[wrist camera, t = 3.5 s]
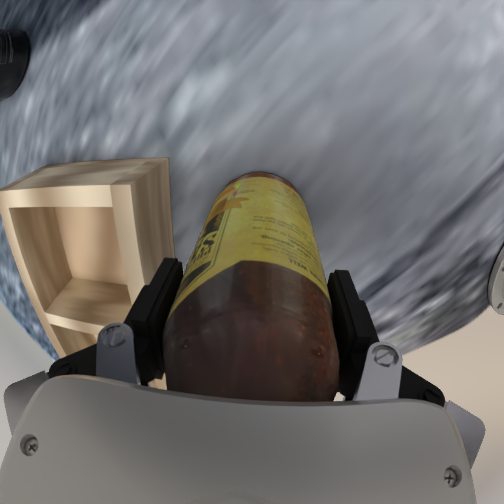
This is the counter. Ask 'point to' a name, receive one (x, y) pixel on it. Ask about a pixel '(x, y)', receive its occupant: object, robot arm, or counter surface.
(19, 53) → the supplement bottle
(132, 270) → the rail
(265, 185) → the sauce bottle
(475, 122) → the counter surface
